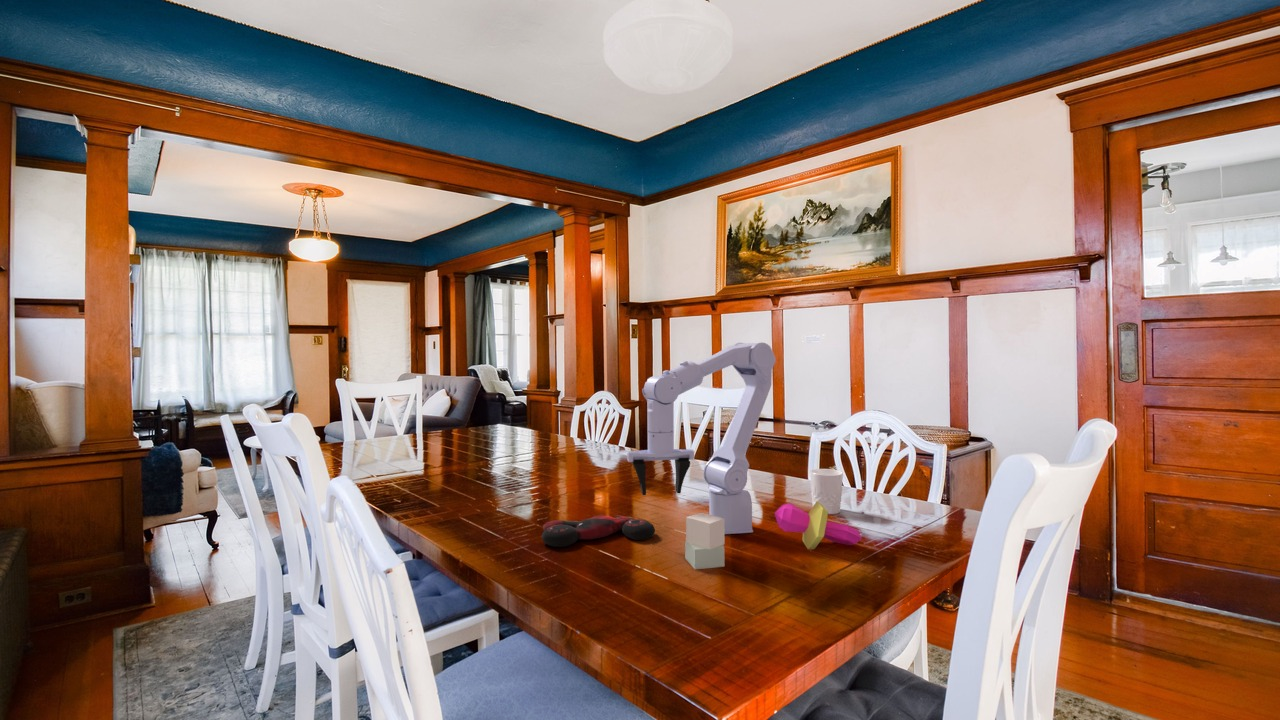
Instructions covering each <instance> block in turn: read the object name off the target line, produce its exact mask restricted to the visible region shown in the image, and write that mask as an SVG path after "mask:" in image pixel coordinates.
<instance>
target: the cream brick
mask: <svg viewBox="0 0 1280 720" xmlns="http://www.w3.org/2000/svg"><path fill="white" fill-rule="evenodd" d="M685 521H686V522H685V535H686V536H685V537H686V538H685V539H686V542H687V543H690V544H693V545H697V546H700V547H703V548H706V549H709V550H710V549H713V548H716V547H718V546H721V545H723V546H724V545H725V542H726V541H725V539H726V538H725V536H726V535H725V534H724V518H720V517H716V516H712V515H709V514H708V513H704V512H699V513H698V512H697V513H695V514H692V515H689V516H685Z"/></svg>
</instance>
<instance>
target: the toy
mask: <svg viewBox="0 0 1280 720" xmlns="http://www.w3.org/2000/svg"><path fill="white" fill-rule="evenodd" d="M774 516H775V519H776V523H777V525H778V527H779V528H780V529H782V530H783V531H784V532H791V533H793V532H794V533H802V542H803V544H804V545H805V547H806V548H807V550H815V549H816V548H817V546H818V545H819V544H820V543H821V542H822V541H823V539H824V538H825V539H826V540H828V541H830V542H832V543H837V544H842V545H847V546H851V545H856V544H857V543H858V542H860V540H861V539H862V536H861V533H860V532H859V530H858V529H856V528H854V527H851V526H850V525H848V524H842V523H837V522H832V521H828V516H829V514H828V511H827V510H826V509H825V508H824V506H823V505H821V504H820V503H819V502H816V503H815V505H814V506H813V505H812V508H811V509H810V510H809V511H808V512H807V511H805V510H803V509H801V508H799V507H797V506H795V504H792V503H791V502H790V503H784V504H782V505H781V506H780V507H779V508H778V509H776V511H775V512H774Z"/></svg>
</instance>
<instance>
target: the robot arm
mask: <svg viewBox="0 0 1280 720" xmlns="http://www.w3.org/2000/svg"><path fill="white" fill-rule="evenodd" d="M776 361H777V358H776V355H775V354H774V350H773V349H772V348H771V346H770V345H769V344H768V343H765V342H755V343H754V342H752V343H751V342H749V343H748V342H747V343H745V342H737V343H735V344H732V345H729V346H727V347H724V349H721V350H720V351H718V352H717V353H714V354H712V355H711V356H709V357H707V358H704V359H703V360H702V361H700V362H698V363H696V362H694V361H691V360H690V361H687V360H683V361H681V362H679V366H676V367H674V368H673V369H670V370H669V369H667V370H663V371H662V374H661V375H653V376H650V377H648V378H647V380H646V381H645V383H644V386H643V388H642V389H641V392H642V395H643V397H644V398H645V400H646V403H647V405H646V407H647V408H646V409H647V410H646V411H647V412H646V413H647V415H646V417H647V449H644V450H643V449H641V450H633V451H626V452H627V454H626V455H627V462H628V463H631V464H632V466H633V468H634V470H635V473H636V475H637V478H638V482H639V486H640V491H641V492H640V493H641V495H642V496H646V495H647V485H646V473H647V471H646V470H647V465H646V461H647V462H650V461H670V460H672V461H673V460H674V465H675V468H674V469H675V493H677V494H681V493H682V487H683V483H684V479H685V477H686V475H687V472H688V470H689V469H690V466H691V461H690V460H692V461H693V460H695V450H694V449H690V448H689V449H683V448H681V449H680V448H677V449H675V447H674V446H675V441H674V439H675V438H674V437H675V429H674V428H675V426H674V425H675V423H674V422H675V421H674V413H675V412H674V411H675V410H674V402H676V400H677V399H678V397H679V395H682V394H684V393H686V392H687V391H690V390H692V389H694V388H696V387H698V386H700V385H701V384H702V383H703V381H704V380H703V379H704V377H707V376H709V375H711V374H713V373H715V372H719V371H721V370H723V369H725V368H728V367H730V366H732V367H733V368H734V370H735V371H736V372H737V373H738V375H739V376H740V377H741V378H742V379H743V382H744V384H745V387H744V391H743V393H742V395H741V398H740V401H739V403H738V406H737V409H736V410H735V414H734V415H733V419H732V421H731V423H730V426H729V428H728V431H727V434H726V436H725V438H724V442H723V443H722V446H721V447H720V448H718V449H716V450H715V451H714V452H713V454H712V456H711V458H709V460H708V461H707V462H706V464H705V465H704V467H703V470H702V472H703V473H702V476H703V480H704V482H706V483H707V484H708V487H707V488H708V491H709V492H708V494H709V497H708V498H709V499H708V501H709V502H708V503H709V504H708V505H709V507H708V509H709V510H708V511H709V515H712V516H716V517H720V518H724V535H732V534H734V535H735V534H749V533H750V534H751V533H754V530H753V502H752V501H753V500H752V496H751V494H750V492H749V490H745V488H746V485H747V482H748V471H749V468H750V463H749V460H748V459H747V456H746V454H747V451H748V448H749V445H750V444H751V440H752V437H753V435H754V432H755V430H756V427H757V425H758V421H759V419H760V416H761V413H762V412H763V408H764V406H765V403H766V401H767V398H768V395H769V393H770V390H771V386H772V381H773V380H772V379H773V378H772V375H773V374H772V373H773V368H774V366H775V364H776Z"/></svg>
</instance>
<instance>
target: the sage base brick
mask: <svg viewBox="0 0 1280 720" xmlns="http://www.w3.org/2000/svg"><path fill="white" fill-rule="evenodd" d="M684 545H685V546H684V552H685V553H684V554H685V555H684V558H685V560H686V561H687V562H688V563H689V565H690V566H691V567H692V568H693V569H694V570H702V569H712V568H722V567H723V568H724V567H725V546H724V545H721V546H718V547H716V548H713V549H710V550H709V549H706V548H703V547H700V546H697V545H693V544H690V543H687V542H686V538H685V539H684Z"/></svg>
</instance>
